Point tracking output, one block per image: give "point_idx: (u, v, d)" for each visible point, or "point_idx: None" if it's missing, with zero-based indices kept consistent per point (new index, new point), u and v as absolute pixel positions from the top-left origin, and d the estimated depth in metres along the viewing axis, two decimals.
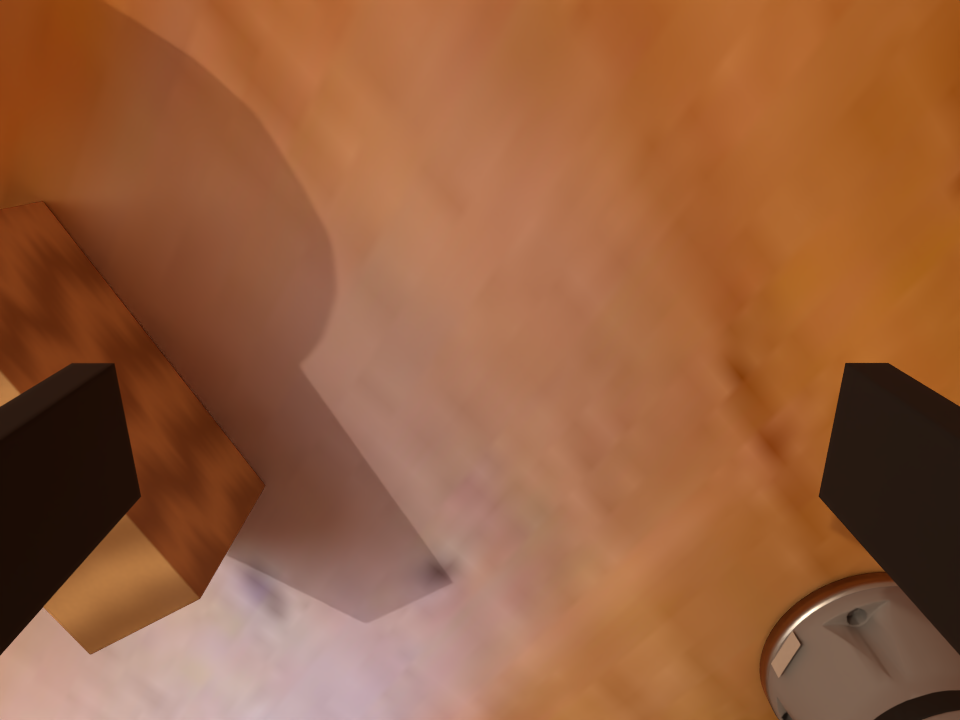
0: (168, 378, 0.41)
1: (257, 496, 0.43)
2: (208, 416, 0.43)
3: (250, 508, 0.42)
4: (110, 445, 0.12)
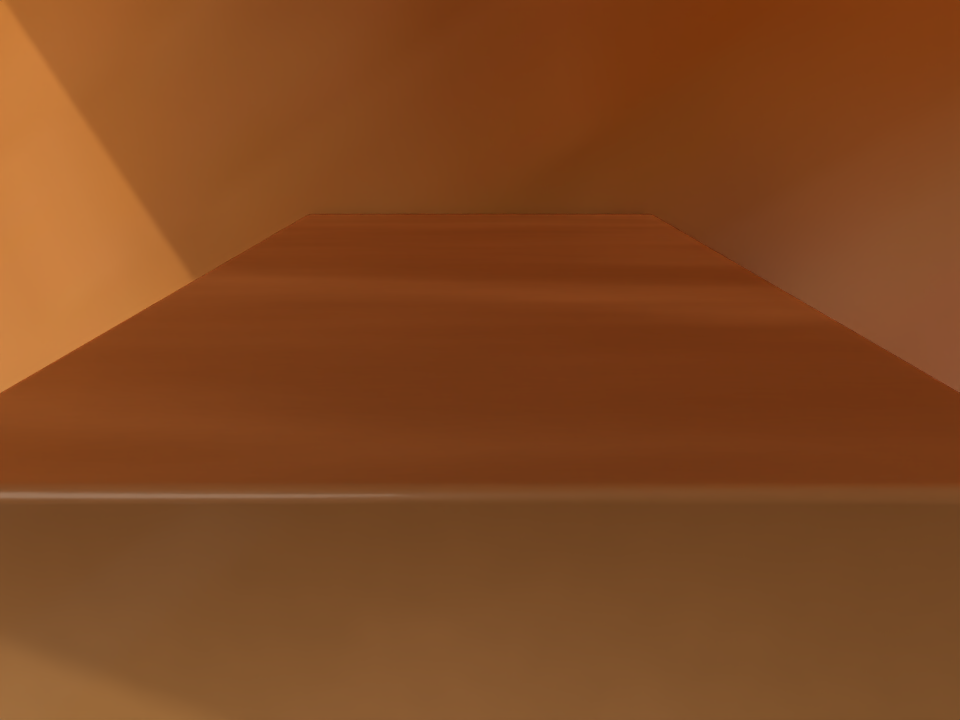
0: None
1: None
2: None
3: None
4: None
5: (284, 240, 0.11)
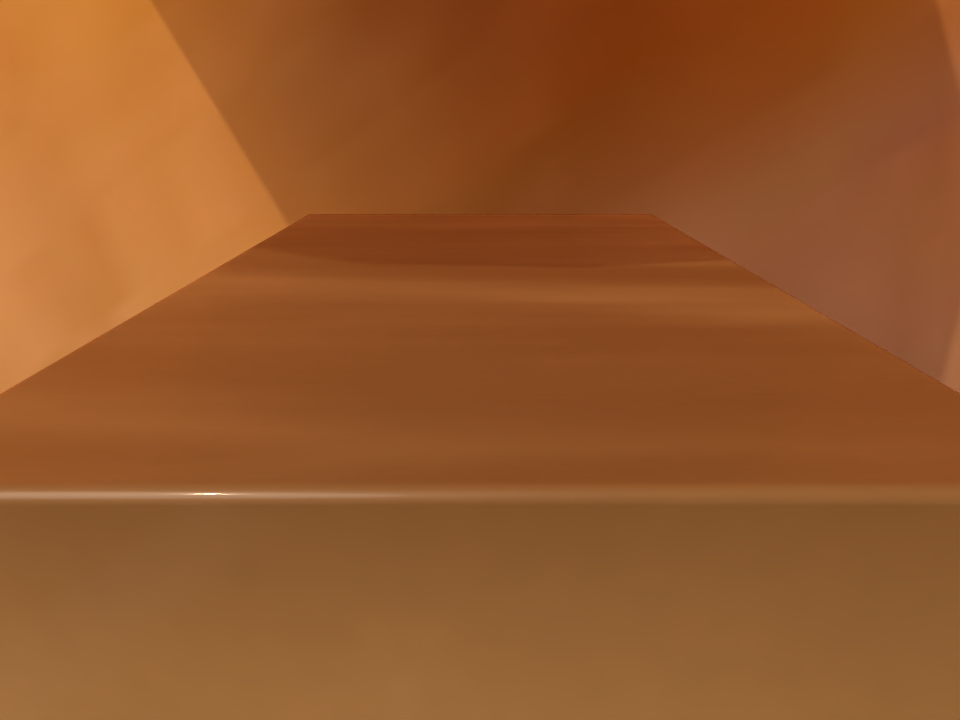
0: None
1: None
2: None
3: None
4: None
5: (284, 240, 0.11)
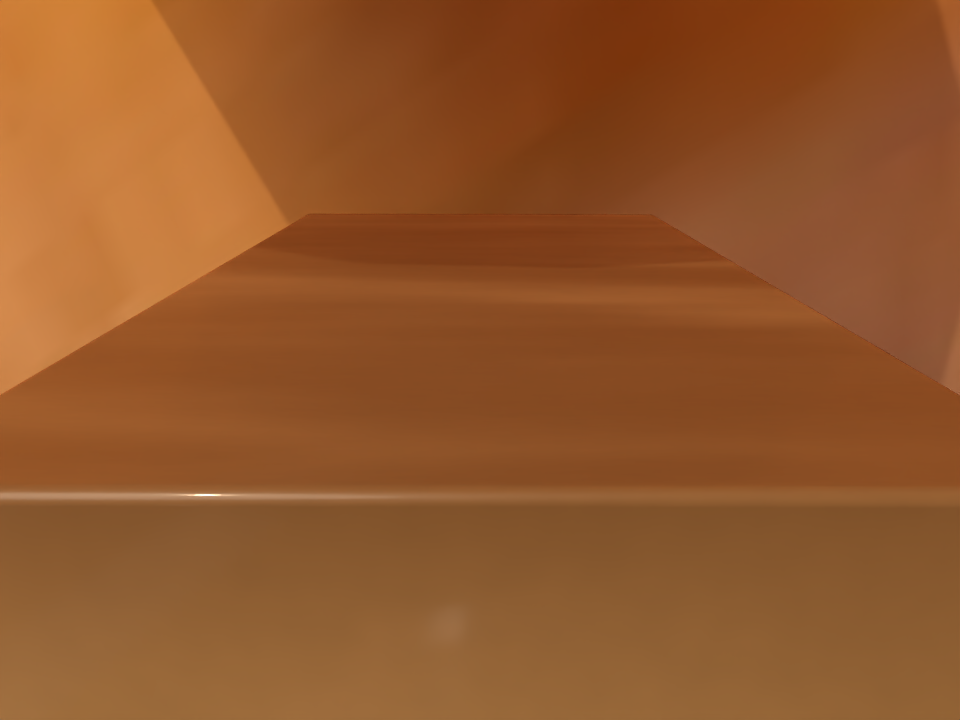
0: None
1: None
2: None
3: None
4: None
5: (284, 240, 0.11)
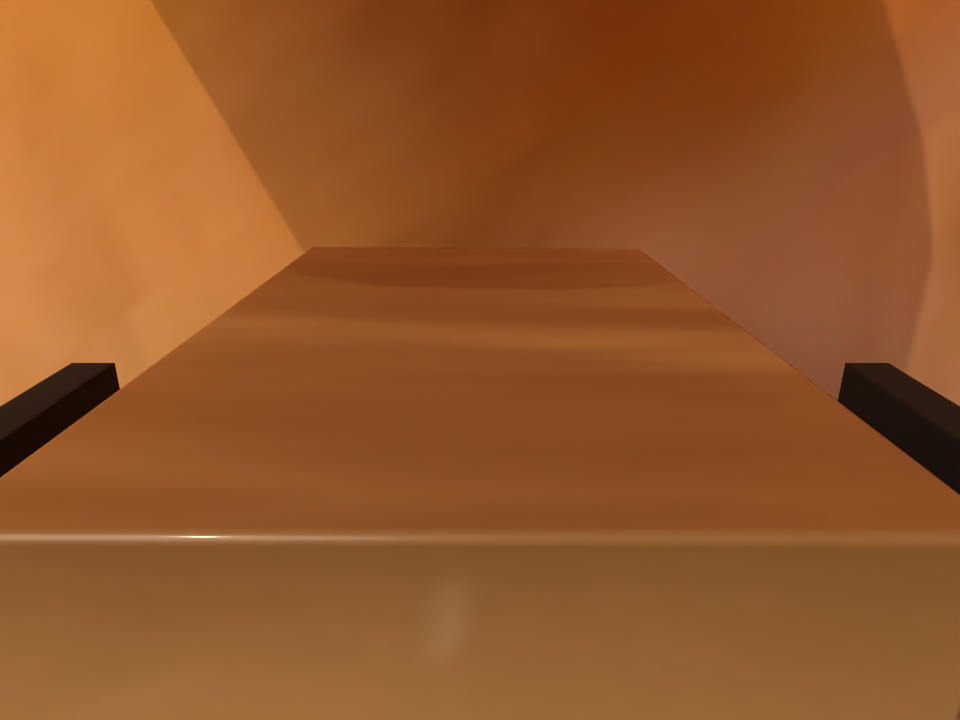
0: None
1: None
2: None
3: None
4: None
5: (291, 277, 0.12)
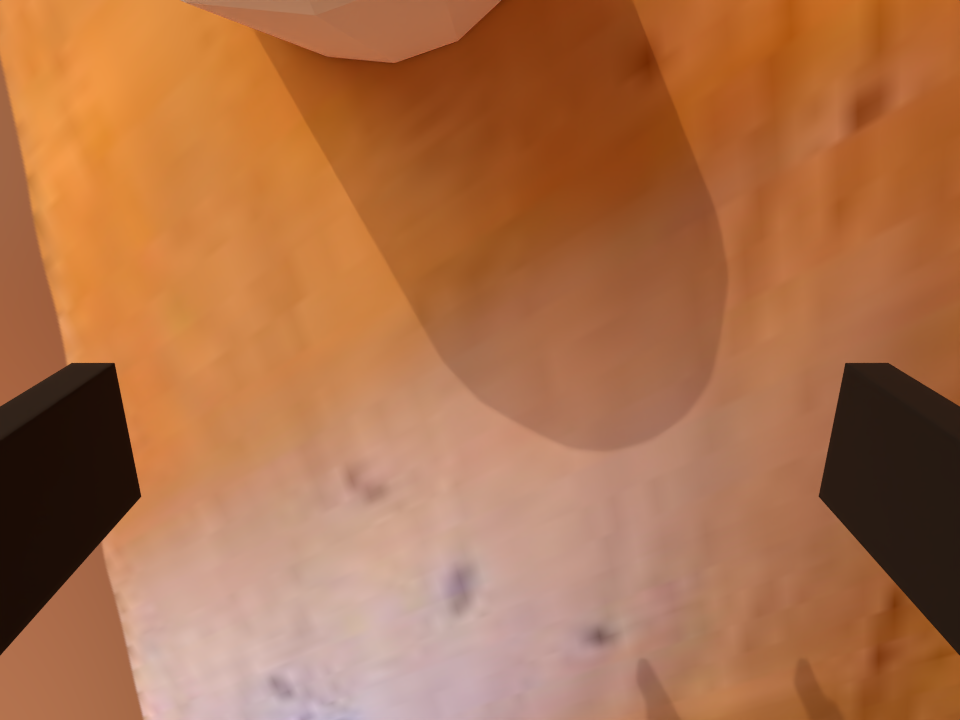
0: None
1: None
2: None
3: None
4: (110, 445, 0.12)
5: None
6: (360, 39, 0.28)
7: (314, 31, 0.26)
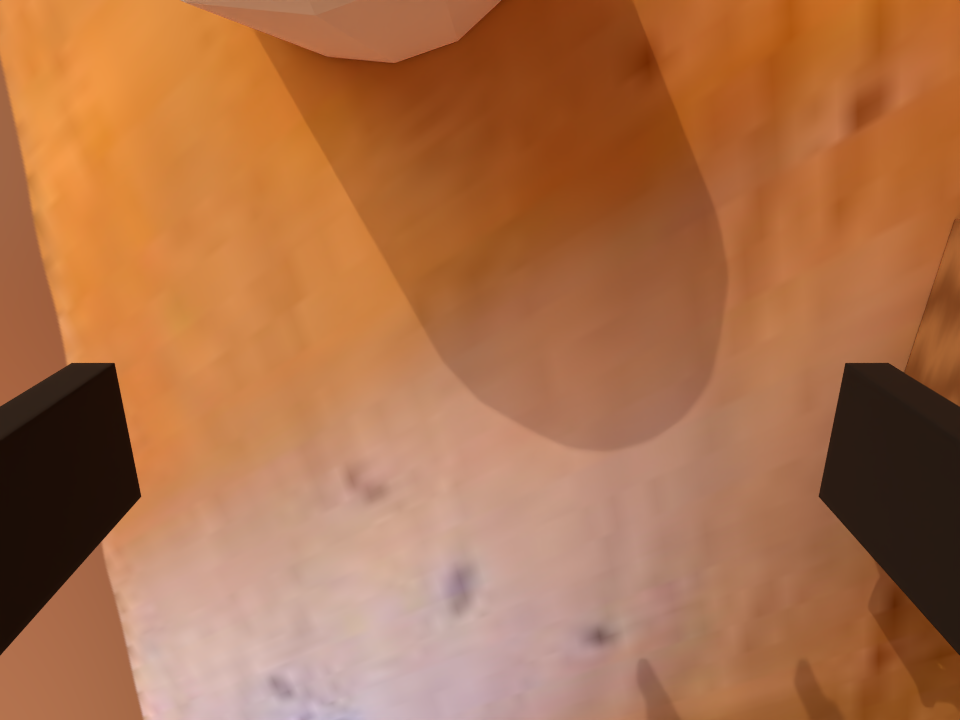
0: None
1: None
2: None
3: None
4: (110, 445, 0.12)
5: None
6: (360, 39, 0.28)
7: (314, 31, 0.26)
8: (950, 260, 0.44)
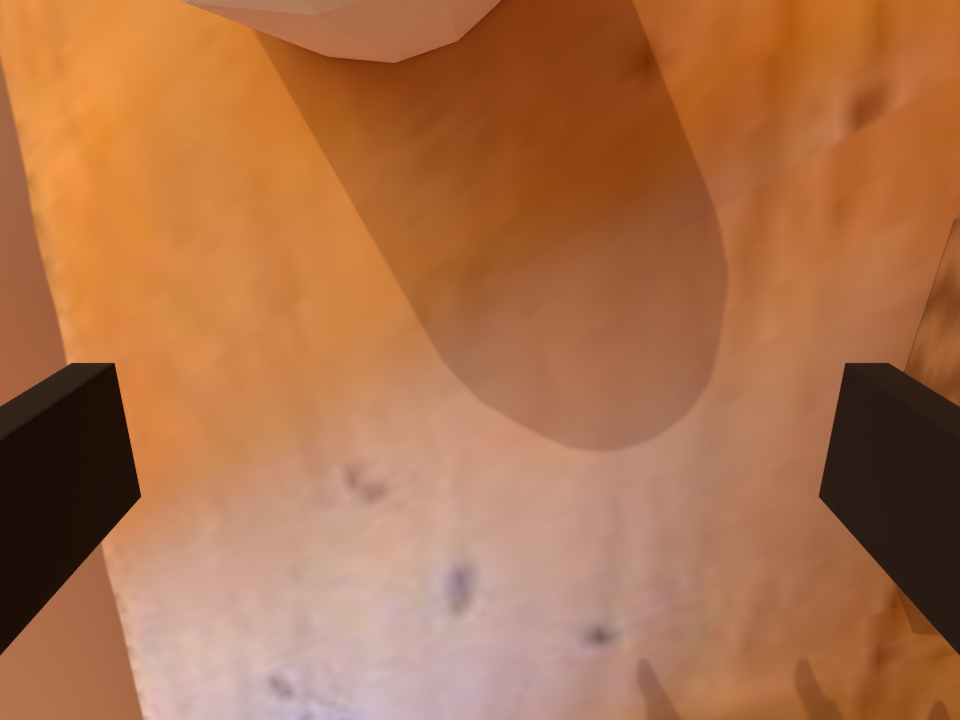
0: None
1: None
2: None
3: None
4: (110, 445, 0.12)
5: None
6: (360, 39, 0.28)
7: (314, 31, 0.26)
8: (950, 260, 0.44)
